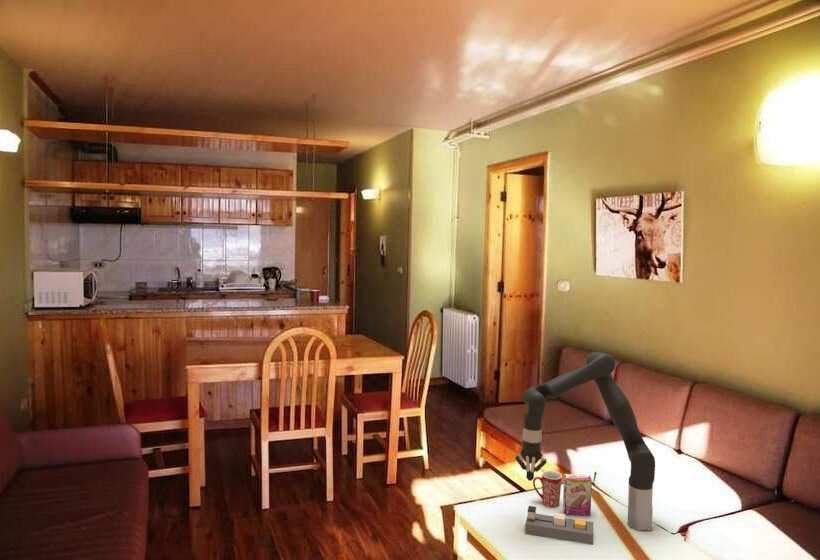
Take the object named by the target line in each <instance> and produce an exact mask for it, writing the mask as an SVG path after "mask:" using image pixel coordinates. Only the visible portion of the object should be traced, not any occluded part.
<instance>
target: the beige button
mask: <svg viewBox="0 0 820 560" xmlns="http://www.w3.org/2000/svg"><path fill="white" fill-rule="evenodd" d="M553 514H554V515H553V516H554V525H557V526H563V527H565V518H566V514H564V513H557V512H555V513H553Z"/></svg>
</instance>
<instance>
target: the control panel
mask: <svg viewBox="0 0 820 560" xmlns="http://www.w3.org/2000/svg"><path fill="white" fill-rule="evenodd" d="M575 519H576V518H575ZM575 519H574V518H568V517H565V527H563V526H557V525H554V515H547V514H540V513H536V518H535V520H531V519H528V515H527V516H526V520H525V524H524V525H525V527H524V534H525V535H526V534H527V535H533V536H538V537H545V538H552V539H555V540H556V539H558V540H564V541H568V542H576V543H582V544H587V545H588V544H590V545H594V544H593V543H594V522H593V521H588V520H586V530H581V529H574V524H575Z"/></svg>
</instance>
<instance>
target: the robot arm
mask: <svg viewBox="0 0 820 560" xmlns="http://www.w3.org/2000/svg"><path fill="white" fill-rule="evenodd" d="M585 362H586V363H585V364H586V365H584V366H582V367H581V368H579V369H576V370H572V371H569V372H566V373H563V374H560V375H557V376H556V377H555V378H552V379H551V380H548V381H547V382H544V383H540V384H537V385H534V386H532V387H528V388H527V389H526V390H524V392H523V394H522V400H523V402H524V404H526V405H527V406H528V410H527V412H526V413H525V414H524V418H523V420H524V421H523V430H522V434H521V435H522V436H521V437H522V441H521V451H520V453H519V454H515V458H514V459H515V461H516V462H517V463H518V464H519V466H520V467H521V469H522V470H525V472H526V476H525V477H526V480H528V482H529V481H530V482H533V479H534V478H535V472H536V473H537V472H539V471H540V470H541V469H542V468H543V467H544V466H545V465H546V464H547V462H548V461H547V458H544V456H543V454H542V437H543V435H542V433H543V431H542V425H543V417H544V412H545V409H546V399H552V400H553V399H556V398H558V397H560V396H562V395H564V394H566V393H568V392H569V391H571V390H573V389H575V388H577V387H579V386H582V385H584V384H586V383H588V382H591V381H594V382H595V384H596V385H597V388H598V390H599V392H600V396H601V398H602V400H603V402H604V405H605V407H606V409H607V412H608V414H609V417H610V418H611V421H612V423H613V424H614V426H615V428H616V430H617V431H618V432H619V435H620V437H621V439H622V441H623V443H624V447H625V450H626V454H627V456H628V460H629V462H630V476H629V477H628V489H627V490H628V491H627V492H628V493H627V494H628V495H627V497H628V498H627V499H628V500H627V525H628V526H629V527H630V528H631V527H632V528H631V529H633V528H634V529H633V530H637V531H640V530H641V531H642V530H647V531H649V530H648V529H652V530H653V515H654V514H653V510H654V509H653V508H654V507H653V497H654V496H653V491H654V489H653V488H654V483H655V475H656V474H655V473H656V459H655V456H654V454H653V453H652V451H651V449H650V448H649V447H648V445H647V443H646V442H645V440H644V439H643V437H642V435H641V433H640V429H639V427H638V422H637V417H636V416H635V413H634V412H635V411H634V410H633V407H632V406H631V404H630V400H629V399H628V398H627V396H626V395H625V393H624V392H623V391H622V389H621V388H620V387H619V386H618V384H617V383H616V382H615V379H614V377H613V376H612V373H614V371H615V368H616V360H615V358H614V357H613V356H612V355H610V354H608V353H605V352H600V351H593V352H590V353H589V354H588V356H587V357H586V361H585ZM538 462H539V463H538ZM537 463H538V464H537ZM536 464H537V465H536ZM642 532H643V531H642Z"/></svg>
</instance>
